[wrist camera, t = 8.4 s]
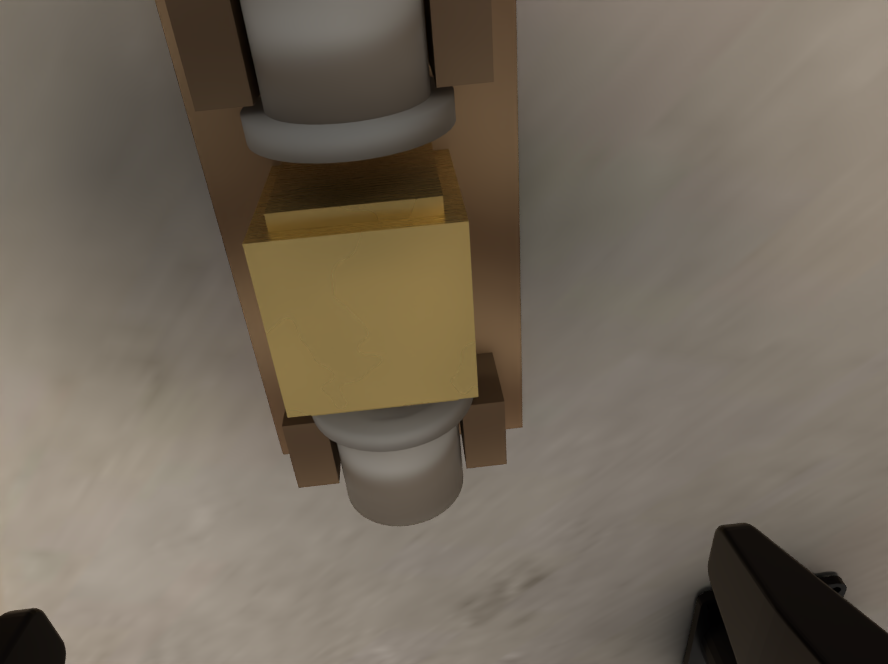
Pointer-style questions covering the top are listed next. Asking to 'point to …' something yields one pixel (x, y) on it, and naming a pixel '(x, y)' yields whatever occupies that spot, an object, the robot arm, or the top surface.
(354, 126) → the pipe cradle
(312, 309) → the yellow hollow block
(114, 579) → the top surface
